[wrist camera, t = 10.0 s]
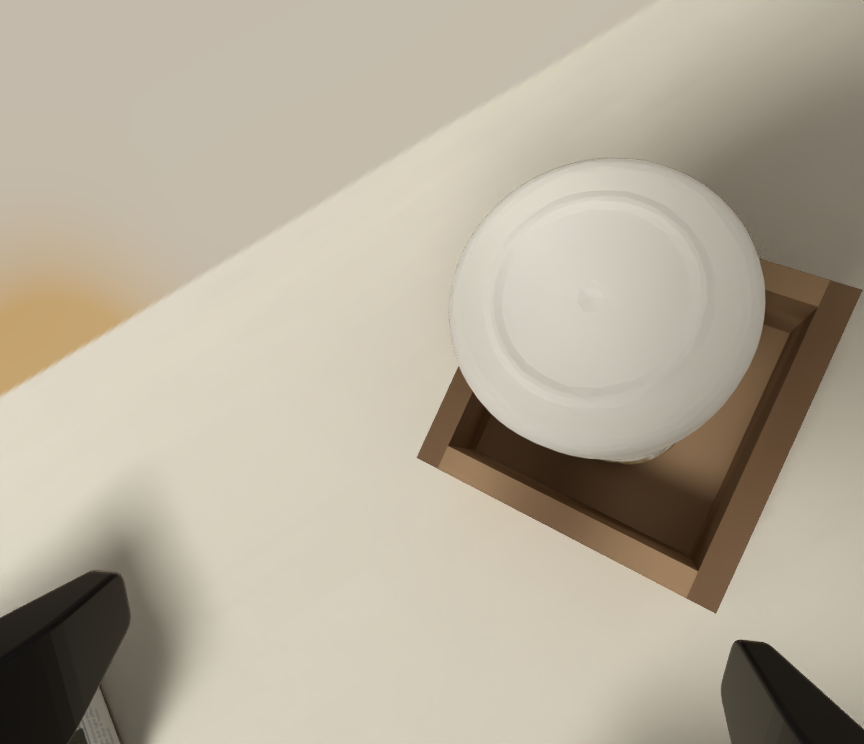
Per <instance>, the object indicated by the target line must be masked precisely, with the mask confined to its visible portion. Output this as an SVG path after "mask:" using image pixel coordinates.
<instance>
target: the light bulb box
mask: <svg viewBox="0 0 864 744" xmlns="http://www.w3.org/2000/svg"><path fill="white" fill-rule="evenodd" d="M68 744H120V741H119V739H118V736H117V733H116V730H115V728H114V725H113V722H112V720H111V717H110V714H109V711H108V709H107V706H106V703H105V701H104V698H103V695H102V693H101V690H100V687H99V688H98V690H97V692H96V694H95V696H94V698H93V700H92V701H91V703H90V705H89V707H88V709H87V711H86V713H85V715H84V717H83V719H82V721H81V723H80V724H79V726H78V728H77V730H76V732H75V733H74V735H73V737H72V738H71V740H70V742H69V743H68Z"/></svg>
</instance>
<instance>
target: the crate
mask: <svg viewBox="0 0 864 744" xmlns="http://www.w3.org/2000/svg"><path fill="white" fill-rule="evenodd" d="M759 261H760V265H761V269H762V273H763V277H764V284H765V315H764V322H763V328H762V333H761V337H760V341H759V344H758V347H757V350H756V352H755V354H754V357H753V359H752V361H751V364H750V366H749V368H748V370H747V371H746V373H745V375H744V376H743V378H742V380H741V381H740V383H739V385H738V386H737V388H736V389H735V391H734V392H733V393H732V395H731V396H730V397H729V399H728V400H727V401H726V403H725V404H724V405H723V406H722V407H721V408H720V409H719V410H718V411H717V412H716V413H715V414H714V415H713V416H712V417H711V418H710V419H709V420H708V421H707V422H706V423H704V424H703V425H702V426H701V427H700V428H698V429H697V430H696V431H694V432H693V433H691V434H690V435H688V436H687V437H685V438H683V439H682V440H680V441H679V442H677V443H676V444H675V445H674V446H673V447H672V448H671V449H669V450H668V451H667V452H665V453H664V454H663V455H661V456H659V457H657V458H655V459H653V460H650V461H647V462H644V463H639V464H630V465H624V464H618V463H608V462H605V461H602V460H600V459H589V458H582V457H576V456H571V455H567V454H564V453H560V452H557V451H554V450H552V449H549V448H546V447H544V446H541V445H539V444H536V443H534V442H532V441H530V440H528V439H526V438H524V437H522V436H520V435H519V434H517V433H515V432H514V431H512V430H511V429H509V428H508V427H506V426H505V425H504V424H502V423H501V422H500V421H499V420H498V419H496V418H495V417H494V416H493V415H492V414H491V413H490V412H489V411H488V410H487V409H486V408H485V406H484V405H483V404H482V403H481V402H480V400H479V399H478V398H477V397H476V395H475V394H474V392H473V391H472V389H471V388H470V386H469V385H468V383H467V381H466V380H465V378H464V376H463V374H462V372H461V370H460V367H458V369H457V371H456V373H455V375H454V377H453V380H452V382H451V384H450V386H449V388H448V391H447V393H446V395H445V397H444V399H443V401H442V404H441V406H440V408H439V410H438V412H437V415H436V417H435V419H434V421H433V423H432V425H431V428H430V430H429V432H428V434H427V436H426V439H425V441H424V443H423V445H422V447H421V449H420V452H419V454H418V456H417V458H418V459H420V460H422V461H424V462H426V463H428V464H430V465H432V466H434V467H436V468H437V469H439V470H441V471H443V472H445V473H447V474H449V475H451V476H453V477H455V478H457V479H459V480H460V481H462V482H464V483H466V484H468V485H470V486H472V487H474V488H476V489H478V490H480V491H482V492H484V493H485V494H487V495H489V496H491V497H493V498H495V499H497V500H499V501H501V502H503V503H505V504H507V505H508V506H510V507H512V508H514V509H516V510H518V511H520V512H522V513H524V514H526V515H528V516H530V517H532V518H533V519H535V520H537V521H539V522H541V523H543V524H545V525H547V526H549V527H551V528H553V529H555V530H556V531H558V532H560V533H562V534H564V535H566V536H568V537H570V538H572V539H574V540H576V541H578V542H580V543H581V544H583V545H585V546H587V547H589V548H591V549H593V550H595V551H597V552H599V553H601V554H603V555H604V556H606V557H608V558H610V559H612V560H614V561H616V562H618V563H620V564H622V565H624V566H626V567H628V568H629V569H631V570H633V571H635V572H637V573H639V574H641V575H643V576H645V577H647V578H649V579H651V580H652V581H654V582H656V583H658V584H660V585H662V586H664V587H666V588H668V589H670V590H672V591H674V592H676V593H677V594H679V595H681V596H683V597H685V598H687V599H689V600H691V601H693V602H695V603H697V604H699V605H701V606H702V607H704V608H706V609H708V610H710V611H712V612H714V613H716V612H717V610H718V608H719V606H720V604H721V601H722V599H723V597H724V595H725V593H726V590H727V588H728V586H729V584H730V581H731V579H732V577H733V575H734V573H735V570H736V568H737V566H738V564H739V562H740V559H741V557H742V555H743V553H744V551H745V548H746V546H747V544H748V542H749V539H750V537H751V535H752V533H753V531H754V528H755V526H756V524H757V522H758V520H759V517H760V515H761V513H762V511H763V509H764V506H765V504H766V502H767V500H768V497H769V495H770V493H771V491H772V489H773V486H774V484H775V482H776V480H777V478H778V475H779V473H780V471H781V469H782V467H783V464H784V462H785V460H786V458H787V455H788V453H789V451H790V449H791V447H792V444H793V442H794V440H795V438H796V436H797V433H798V431H799V429H800V427H801V425H802V422H803V420H804V418H805V416H806V413H807V411H808V409H809V407H810V405H811V402H812V400H813V398H814V396H815V394H816V391H817V389H818V387H819V385H820V383H821V380H822V378H823V376H824V374H825V371H826V369H827V367H828V365H829V363H830V360H831V358H832V356H833V354H834V352H835V349H836V347H837V345H838V343H839V341H840V338H841V336H842V334H843V332H844V329H845V327H846V325H847V323H848V321H849V318H850V316H851V314H852V312H853V310H854V307H855V305H856V303H857V301H858V299H859V296H860V294H861V292H862V290H860V289H857V288H854V287H851V286H847V285H844V284H841V283H837V282H834V281H831V280H828V279H824V278H821V277H818V276H814V275H811V274H808V273H804V272H801V271H798V270H795V269H791V268H788V267H785V266H781V265H778V264H775V263H772V262H768V261H765V260H762V259H759Z"/></svg>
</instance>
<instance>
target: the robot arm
mask: <svg viewBox="0 0 864 744" xmlns="http://www.w3.org/2000/svg"><path fill="white" fill-rule="evenodd" d="M129 624H130V608H129V603H128V598H127V593H126V588H125V583H124V579H123V577H122V576H121V575H120V573H117V572H111V571H102V570H93V571H90V572H88V573H86V574H84V575H82V576H80V577H78V578H76V579H74V580H72V581H70V582H68V583H66V584H65V585H63V586H61V587H59V588H57V589H55V590H53V591H51V592H49V593H47V594H45V595H43V596H41V597H39V598H38V599H36V600H34V601H32V602H30V603H28V604H26V605H24V606H22V607H20V608H18V609H16V610H14V611H12V612H11V613H9V614H7V615H5V616H3V617H1V618H0V744H68V743H69V742H70V740H71V738H72V737H73V735H74V733H75V732H76V730H77V728H78V726H79V724H80V723H81V721H82V719H83V717H84V715H85V713H86V711H87V709H88V707H89V705H90V703H91V701H92V700H93V698H94V696H95V694H96V692H97V690H98V688H99V686H100V684H101V682H102V680H103V678H104V676H105V674H106V672H107V670H108V668H109V666H110V664H111V662H112V660H113V658H114V656H115V654H116V652H117V650H118V648H119V646H120V644H121V642H122V640H123V638H124V636H125V634H126V632H127V630H128V627H129ZM721 697H722V703H723V707H724V712H725V716H726V721H727V725H728V730H729V734H730V739H731V743H732V744H864V729H863V728H862V727H861V726H860V725H859V724H857V723H856V722H855V721H854V720H853V719H852V718H851V717H850V716H849V715H847V714H846V713H845V712H844V711H843V710H842V709H841V708H840V707H839V706H837V705H836V704H835V703H834V702H833V701H832V700H831V699H830V698H829V697H827V696H826V695H825V694H824V693H823V692H822V691H821V690H820V689H819V688H817V687H816V686H815V685H814V684H813V683H812V682H811V681H810V680H809V679H807V678H806V677H805V676H804V675H803V674H802V673H801V672H800V671H798V670H797V669H796V668H795V667H794V666H793V665H792V664H791V663H790V662H788V661H787V660H786V659H785V658H784V657H783V656H782V655H781V654H780V653H778V652H777V651H776V650H775V649H774V648H773V647H772V646H770V645H769V644H767V643H764V642H757V641H748V640H737V641H735V642H734V643H733V645H732V647H731V651H730V654H729V658H728V661H727V665H726V668H725V672H724V675H723V679H722V683H721Z"/></svg>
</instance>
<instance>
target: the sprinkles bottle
mask: <svg viewBox="0 0 864 744" xmlns="http://www.w3.org/2000/svg"><path fill="white" fill-rule="evenodd" d="M764 315H765V284H764V277H763V273H762V269H761V265H760V261H759V257H758V255H757V252H756V249H755V246H754V244H753V242H752V240H751V238H750V236H749V234H748V232H747V230H746V229H745V227H744V225H743V224H742V222H741V221H740V219H739V218H738V217H737V216H736V215H735V213H734V212H733V211H732V209H731V208H730V207H729V206H728V205H727V204H726V203H725V202H724V201H723V200H722V199H721V198H720V197H719V196H718V195H716V194H715V193H714V192H712V191H711V190H710V189H709V188H707V187H706V186H705V185H703V184H702V183H700V182H698V181H697V180H695V179H693V178H692V177H690V176H688V175H686V174H684V173H682V172H679V171H677V170H674V169H672V168H669V167H667V166H664V165H661V164H657V163H653V162H649V161H645V160H639V159H626V158H600V159H592V160H586V161H581V162H576V163H572V164H568V165H565V166H561V167H559V168H556V169H553V170H551V171H548V172H546V173H544V174H541V175H539V176H537V177H535V178H533V179H532V180H530V181H529V182H527V183H525V184H523V185H522V186H520V187H519V188H517V189H516V190H514V191H513V192H512V193H511V194H509V195H508V196H507V197H506V198H505V199H504V200H502V201H501V202H500V203H499V204H498V205H497V206H496V207H495V208H494V209H493V210H492V211H491V212H490V213H489V214H488V215H487V216H486V218H485V219H484V220H483V221H482V222H481V224H480V225H479V226H478V228H477V229H476V231H475V232H474V233H473V235H472V236H471V238H470V240H469V242H468V243H467V245H466V247H465V249H464V251H463V253H462V255H461V258H460V260H459V263H458V265H457V268H456V272H455V275H454V279H453V284H452V288H451V293H450V303H449V324H450V333H451V340H452V345H453V349H454V353H455V356H456V359H457V362H458V365H459V367H460V370H461V372H462V374H463V376H464V378H465V380H466V381H467V383H468V385H469V386H470V388H471V389H472V391H473V392H474V394H475V395H476V397H477V398H478V399H479V400H480V402H481V403H482V404H483V405H484V406H485V408H486V409H487V410H488V411H489V412H490V413H491V414H492V415H493V416H494V417H495V418H496V419H498V420H499V421H500V422H501V423H502V424H504V425H505V426H506V427H508V428H509V429H511V430H512V431H514V432H515V433H517V434H519V435H520V436H522V437H524V438H526V439H528V440H530V441H532V442H534V443H536V444H539V445H541V446H544V447H546V448H549V449H552V450H554V451H557V452H560V453H564V454H567V455H571V456H576V457H582V458H589V459H600V460H602V461H605V462H608V463H618V464H624V465H630V464H639V463H644V462H647V461H650V460H653V459H655V458H657V457H659V456H661V455H663V454H664V453H665V452H667V451H668V450H669V449H671V448H672V447H673V446H674V445H675V444H676V443H677V442H679V441H680V440H682V439H683V438H685V437H687V436H688V435H690V434H691V433H693V432H694V431H696V430H697V429H698V428H700V427H701V426H702V425H703V424H704V423H706V422H707V421H708V420H709V419H710V418H711V417H712V416H713V415H714V414H715V413H716V412H717V411H718V410H719V409H720V408H721V407H722V406H723V405H724V404H725V403H726V401H727V400H728V399H729V397H730V396H731V395H732V393H733V392H734V391H735V389H736V388H737V386H738V385H739V383H740V381H741V380H742V378H743V376H744V375H745V373H746V371H747V370H748V368H749V366H750V364H751V361H752V359H753V357H754V354H755V352H756V350H757V347H758V344H759V341H760V337H761V333H762V328H763V322H764Z"/></svg>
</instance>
